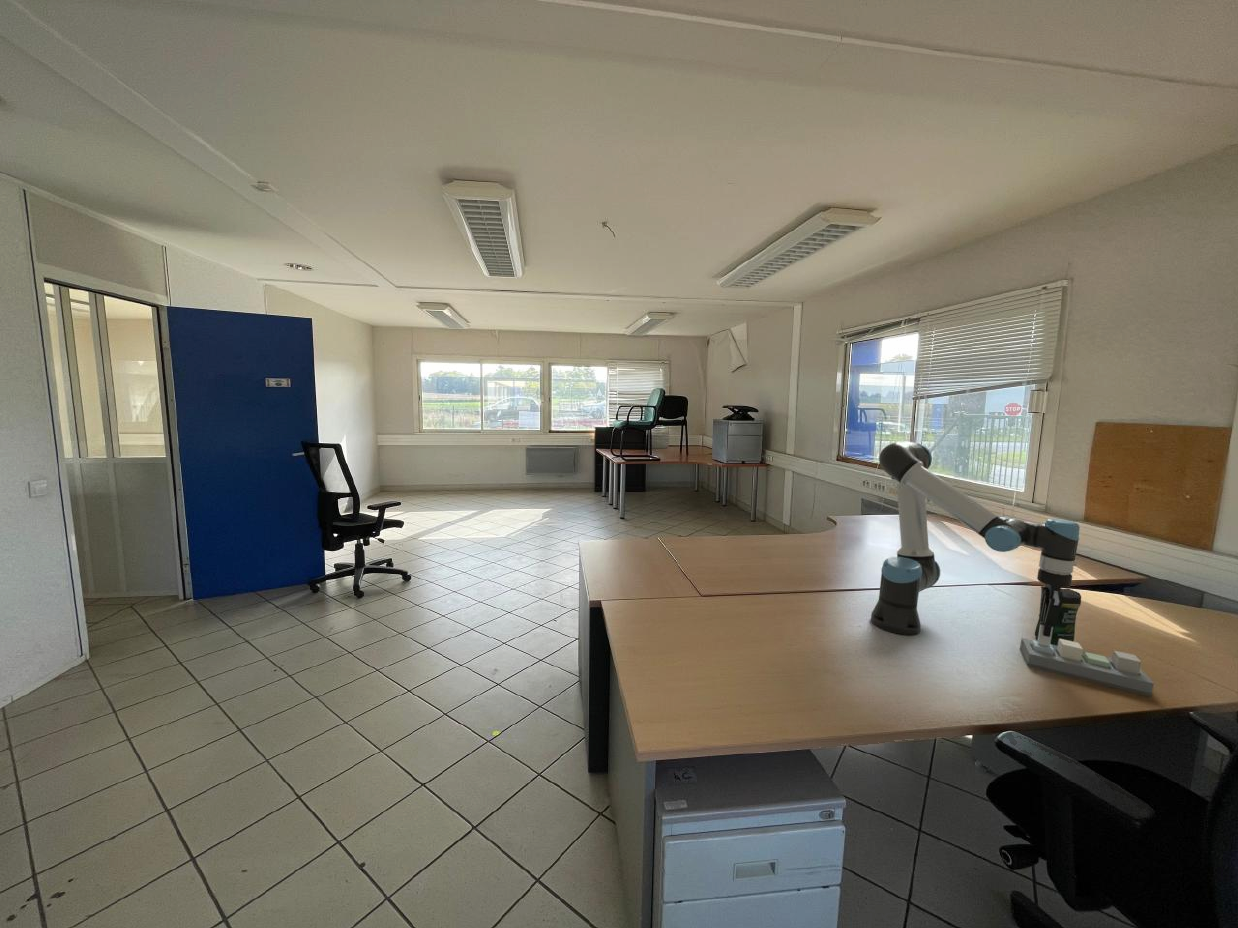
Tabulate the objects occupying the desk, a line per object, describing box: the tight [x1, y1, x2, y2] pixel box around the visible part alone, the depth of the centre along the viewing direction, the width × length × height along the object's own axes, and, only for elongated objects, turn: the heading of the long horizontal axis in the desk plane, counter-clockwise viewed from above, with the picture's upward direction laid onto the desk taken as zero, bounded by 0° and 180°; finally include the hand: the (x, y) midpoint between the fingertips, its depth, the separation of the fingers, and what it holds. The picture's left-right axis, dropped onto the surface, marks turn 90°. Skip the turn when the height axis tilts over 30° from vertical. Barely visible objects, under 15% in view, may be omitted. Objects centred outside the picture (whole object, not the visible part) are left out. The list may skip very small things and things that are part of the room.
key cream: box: [1057, 639, 1084, 661], centre depth 141 cm, size 4×4×4 cm
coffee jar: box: [1034, 587, 1082, 646], centre depth 157 cm, size 10×8×19 cm
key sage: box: [1083, 651, 1110, 668], centre depth 138 cm, size 4×4×4 cm
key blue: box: [1031, 639, 1054, 655], centre depth 144 cm, size 4×4×4 cm
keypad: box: [1019, 637, 1155, 698], centre depth 140 cm, size 26×12×4 cm, turn 58°
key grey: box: [1111, 650, 1142, 675], centre depth 134 cm, size 4×4×4 cm
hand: (1043, 644), depth 144 cm, fingers closed
